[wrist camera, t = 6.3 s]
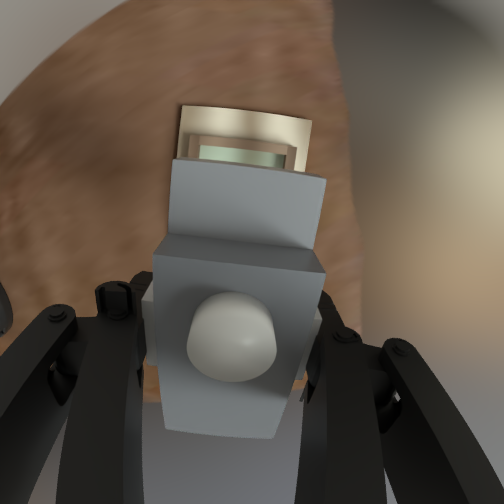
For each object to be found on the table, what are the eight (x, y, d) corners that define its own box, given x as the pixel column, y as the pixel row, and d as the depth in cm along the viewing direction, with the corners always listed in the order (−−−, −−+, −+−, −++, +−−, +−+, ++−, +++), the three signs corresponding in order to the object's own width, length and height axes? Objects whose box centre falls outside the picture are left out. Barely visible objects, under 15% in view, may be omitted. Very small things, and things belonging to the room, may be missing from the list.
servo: (191, 339, 17) (166, 470, 9) (204, 149, 13) (140, 170, 5) (256, 346, 17) (265, 479, 9) (289, 160, 13) (363, 199, 5)
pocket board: (172, 257, 35) (168, 265, 33) (183, 106, 28) (179, 103, 26) (285, 269, 36) (288, 278, 34) (310, 121, 30) (315, 119, 27)
